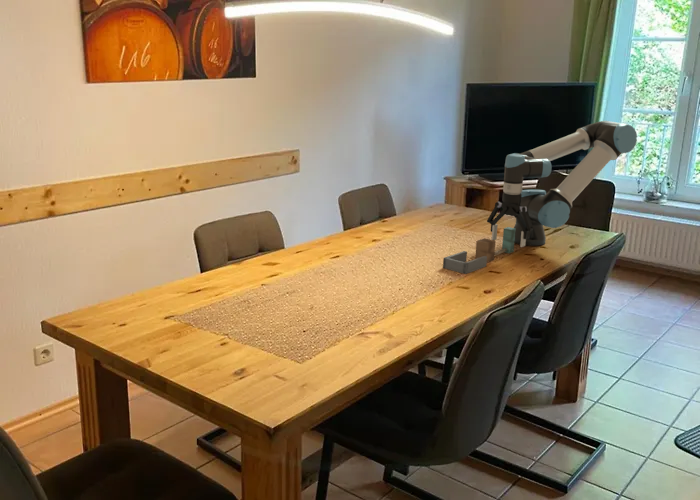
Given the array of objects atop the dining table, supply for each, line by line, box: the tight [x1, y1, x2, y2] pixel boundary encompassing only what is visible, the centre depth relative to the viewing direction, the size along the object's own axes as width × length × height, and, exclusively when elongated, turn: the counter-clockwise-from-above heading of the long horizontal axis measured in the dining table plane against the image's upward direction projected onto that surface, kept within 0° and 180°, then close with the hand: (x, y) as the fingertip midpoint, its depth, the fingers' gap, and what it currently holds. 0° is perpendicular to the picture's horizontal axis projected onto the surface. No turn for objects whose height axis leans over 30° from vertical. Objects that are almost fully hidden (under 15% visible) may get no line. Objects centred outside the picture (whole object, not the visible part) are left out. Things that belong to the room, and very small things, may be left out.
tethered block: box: [474, 226, 516, 263], centre depth 279 cm, size 22×5×10 cm, turn 137°
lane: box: [442, 250, 488, 275], centre depth 265 cm, size 14×10×4 cm
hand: (508, 243), depth 286 cm, fingers open, 13 cm apart
